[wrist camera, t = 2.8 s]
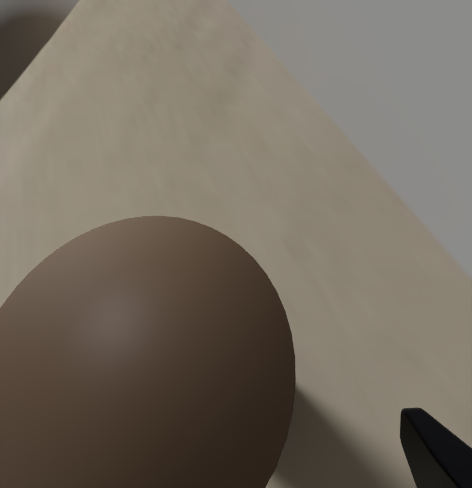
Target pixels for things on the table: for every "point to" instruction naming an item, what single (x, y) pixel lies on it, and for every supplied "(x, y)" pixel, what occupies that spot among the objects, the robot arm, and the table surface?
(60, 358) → the peg
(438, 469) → the robot arm
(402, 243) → the table surface
